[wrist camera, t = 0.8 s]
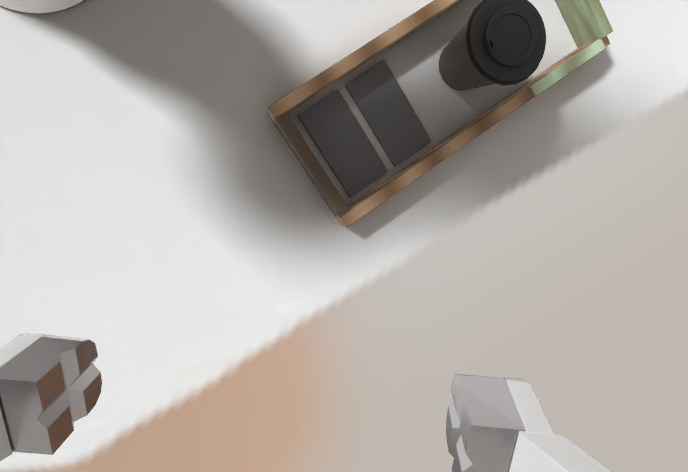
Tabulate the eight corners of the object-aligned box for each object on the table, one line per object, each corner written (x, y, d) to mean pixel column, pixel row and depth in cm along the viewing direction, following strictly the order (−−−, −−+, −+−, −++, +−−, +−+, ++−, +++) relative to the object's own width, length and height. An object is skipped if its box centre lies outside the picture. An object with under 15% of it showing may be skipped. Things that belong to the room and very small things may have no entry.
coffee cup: (412, 69, 48) (454, 39, 38) (456, 11, 48) (508, -34, 38) (466, 118, 50) (518, 101, 40) (507, 61, 50) (570, 30, 40)
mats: (349, 196, 48) (350, 196, 48) (298, 116, 46) (298, 115, 45) (430, 141, 49) (431, 140, 49) (383, 60, 47) (384, 59, 47)
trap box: (341, 224, 48) (349, 227, 44) (266, 112, 45) (268, 105, 41) (590, 51, 52) (617, 41, 48) (536, -62, 49) (561, -83, 45)
